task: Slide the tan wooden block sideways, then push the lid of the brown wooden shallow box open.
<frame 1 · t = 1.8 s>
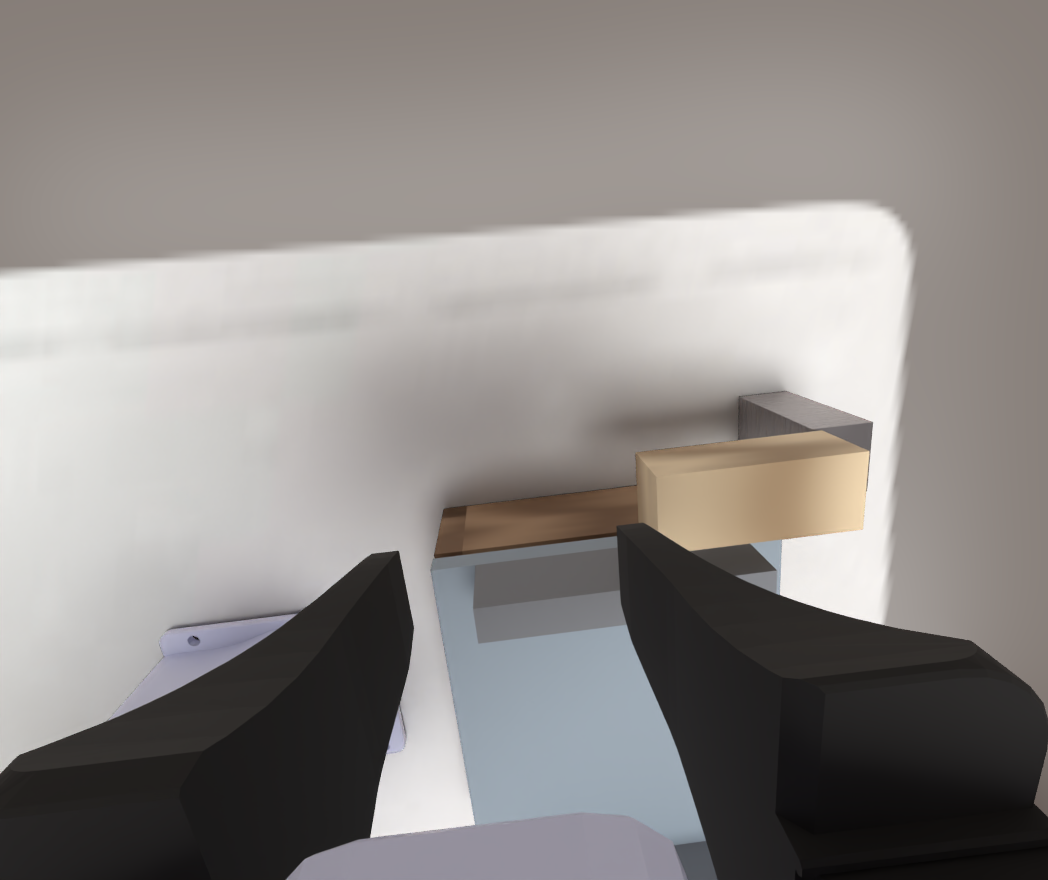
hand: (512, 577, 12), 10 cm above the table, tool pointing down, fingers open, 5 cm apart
bolt guide: (762, 421, 22), on the table
tan wooden block: (744, 489, 16), point 6 cm above the table, slide at 0.0 cm
brown wooden shallow box: (595, 648, 25), on the table
lid: (629, 767, 19), point 6 cm above the table, slide at 0.0 cm
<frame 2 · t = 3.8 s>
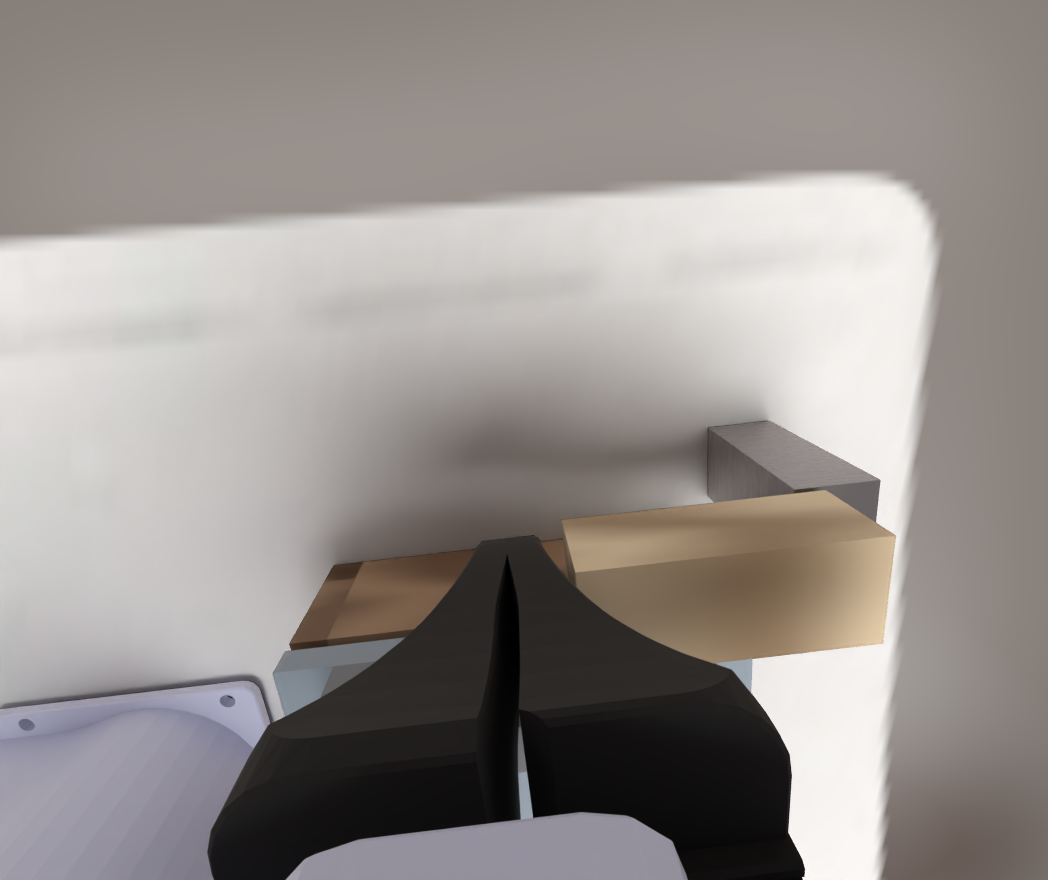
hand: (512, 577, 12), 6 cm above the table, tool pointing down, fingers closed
bolt guide: (737, 459, 17), on the table
tan wooden block: (712, 578, 11), point 7 cm above the table, slide at 0.4 cm, touching gripper
brown wooden shallow box: (532, 729, 20), on the table
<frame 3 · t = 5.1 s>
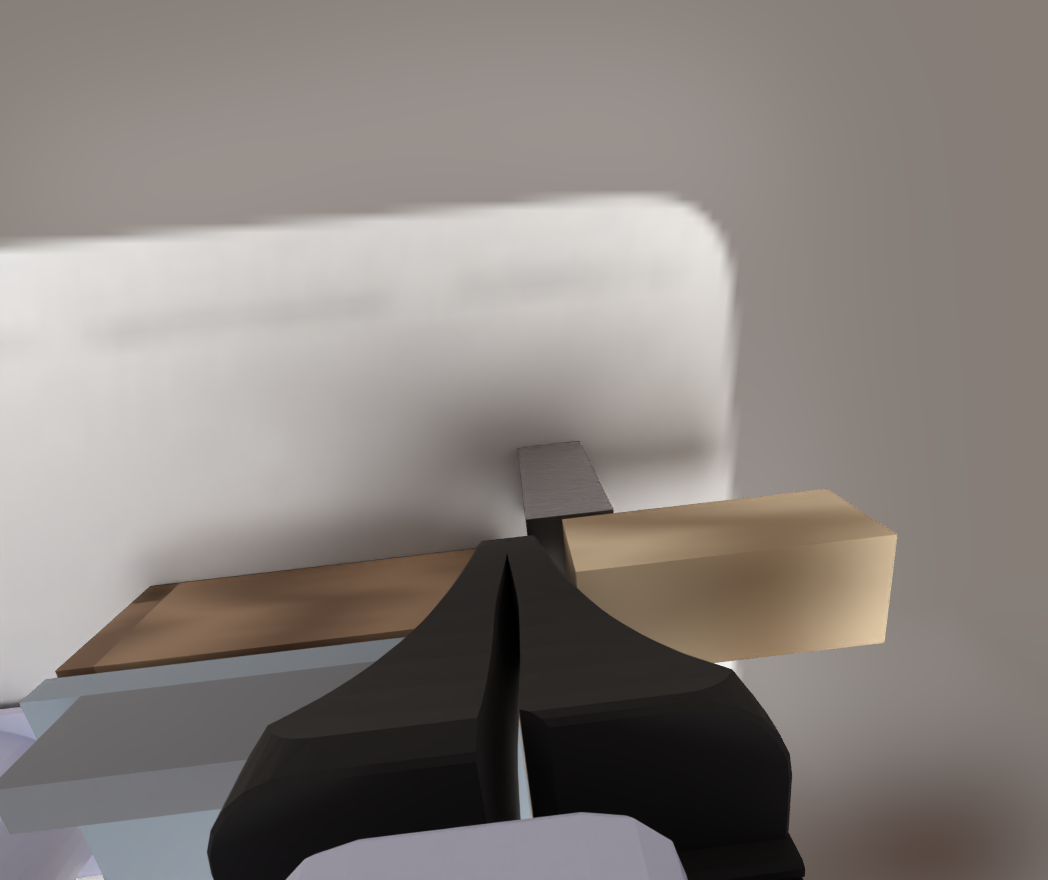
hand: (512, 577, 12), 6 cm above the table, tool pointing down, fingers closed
bolt guide: (551, 479, 17), on the table
tan wooden block: (713, 577, 11), point 7 cm above the table, slide at 6.6 cm, touching gripper
brown wooden shallow box: (373, 748, 20), on the table
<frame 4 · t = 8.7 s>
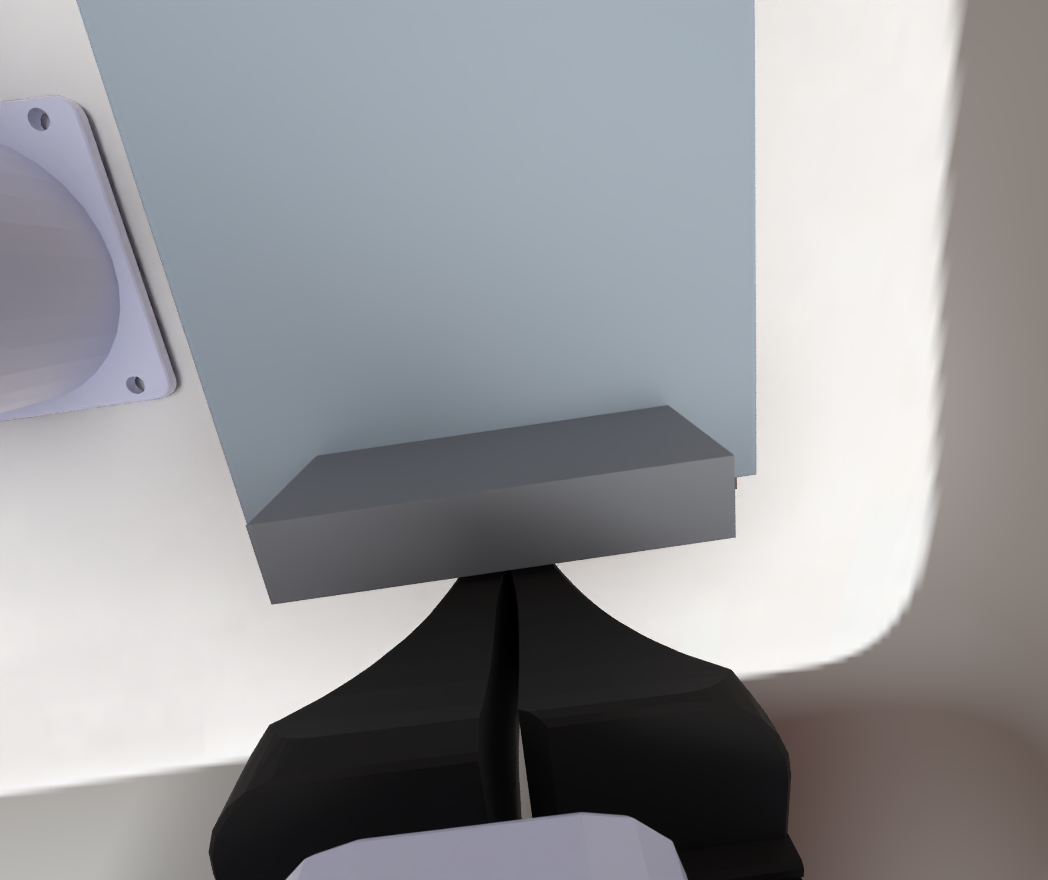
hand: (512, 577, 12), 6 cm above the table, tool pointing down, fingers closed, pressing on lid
lid: (436, 111, 9), point 6 cm above the table, slide at 0.8 cm, touching gripper
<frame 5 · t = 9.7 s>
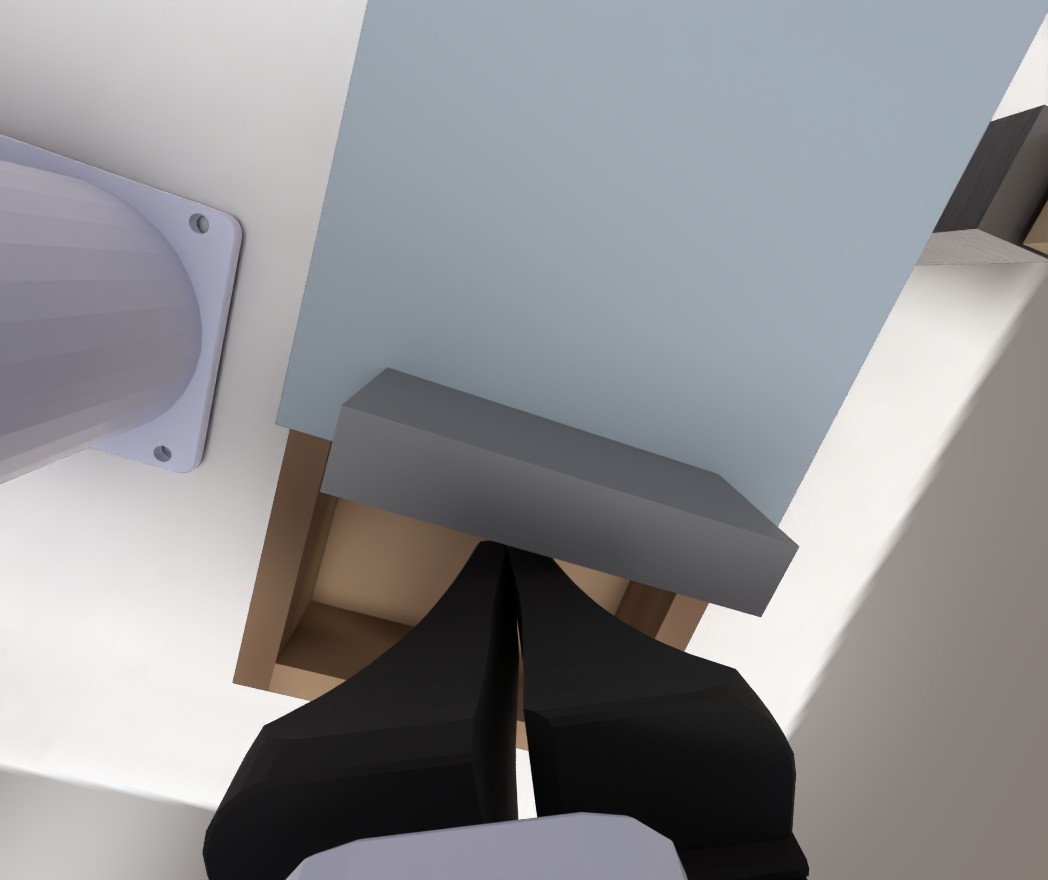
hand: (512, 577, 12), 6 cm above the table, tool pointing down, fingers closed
bolt guide: (876, 214, 16), on the table
brown wooden shallow box: (519, 446, 17), on the table
lid: (690, 123, 9), point 6 cm above the table, slide at 8.3 cm
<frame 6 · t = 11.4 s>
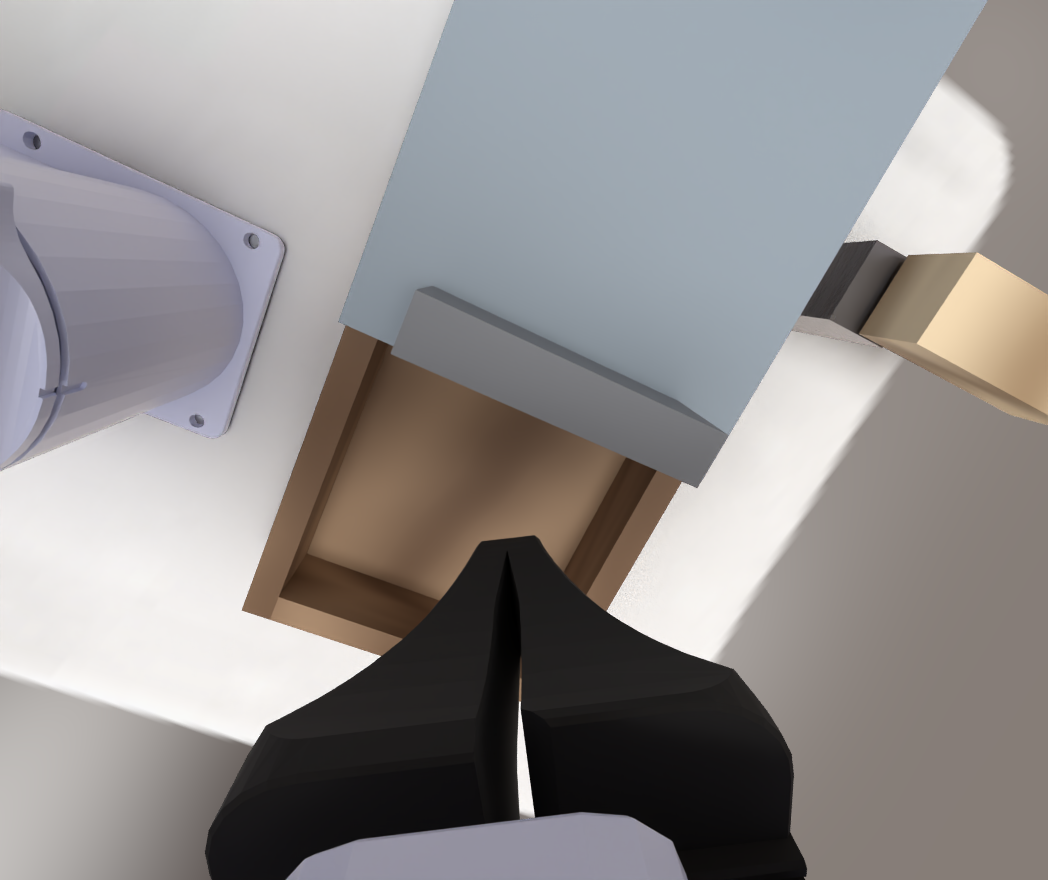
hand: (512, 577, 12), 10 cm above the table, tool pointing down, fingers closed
bolt guide: (784, 289, 20), on the table
tan wooden block: (995, 344, 15), point 7 cm above the table, slide at 6.7 cm
brown wooden shallow box: (490, 442, 21), on the table
lid: (680, 122, 13), point 6 cm above the table, slide at 11.0 cm
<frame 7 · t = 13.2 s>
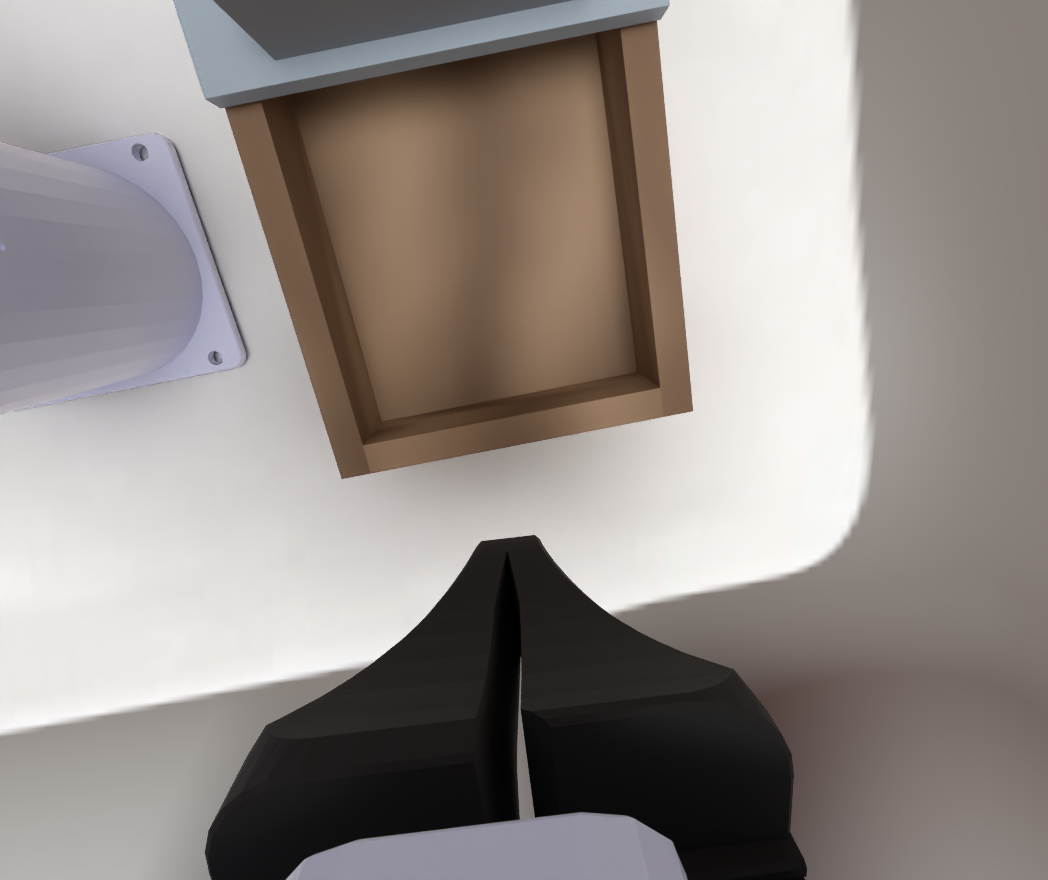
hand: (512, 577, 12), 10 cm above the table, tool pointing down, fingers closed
brown wooden shallow box: (471, 205, 19), on the table
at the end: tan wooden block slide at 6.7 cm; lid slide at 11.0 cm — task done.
